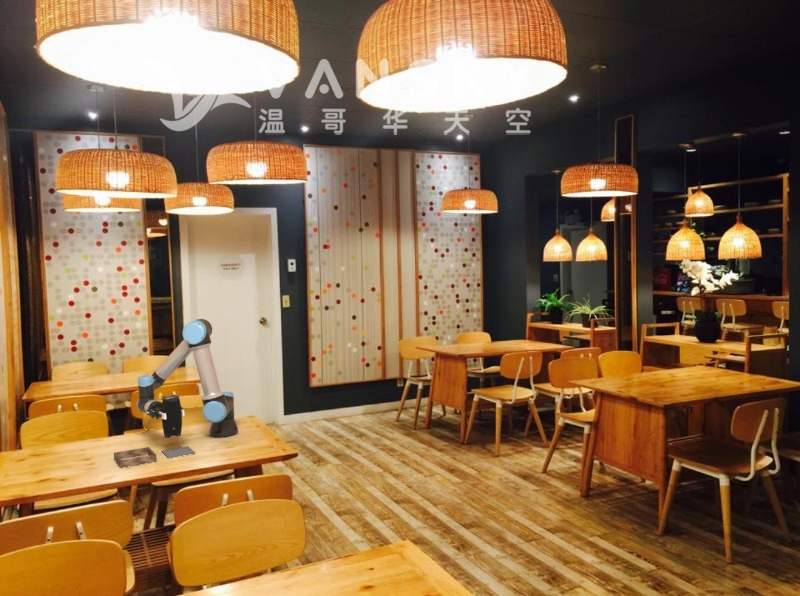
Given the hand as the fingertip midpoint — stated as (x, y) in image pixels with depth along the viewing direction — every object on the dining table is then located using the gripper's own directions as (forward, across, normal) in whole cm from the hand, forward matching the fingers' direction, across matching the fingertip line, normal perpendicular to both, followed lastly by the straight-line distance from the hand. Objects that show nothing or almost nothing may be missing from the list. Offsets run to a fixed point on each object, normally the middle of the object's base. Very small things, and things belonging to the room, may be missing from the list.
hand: (174, 414), depth 312 cm
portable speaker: (-3, 0, -11) cm, 12 cm away
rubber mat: (-3, -2, -20) cm, 20 cm away
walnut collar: (-6, +18, -20) cm, 27 cm away
